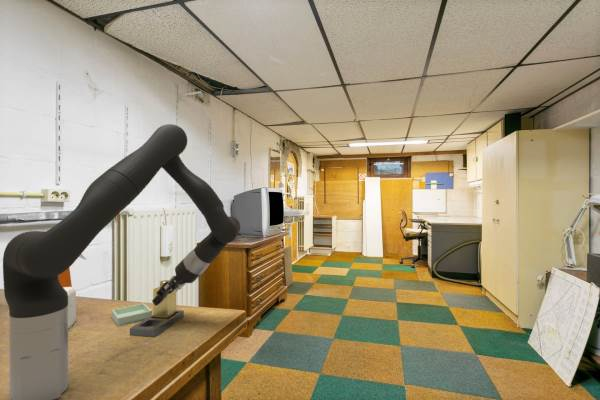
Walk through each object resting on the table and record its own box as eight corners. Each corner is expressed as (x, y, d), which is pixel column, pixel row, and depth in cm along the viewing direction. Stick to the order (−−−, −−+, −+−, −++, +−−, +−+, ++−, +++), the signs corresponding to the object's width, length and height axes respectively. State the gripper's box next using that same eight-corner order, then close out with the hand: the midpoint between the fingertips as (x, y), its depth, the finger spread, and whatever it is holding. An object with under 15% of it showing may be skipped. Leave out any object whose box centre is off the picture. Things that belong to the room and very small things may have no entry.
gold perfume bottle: (176, 318, 103) (176, 279, 103) (167, 324, 98) (167, 283, 98) (162, 317, 104) (162, 279, 104) (153, 323, 99) (153, 283, 99)
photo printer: (64, 333, 92) (64, 292, 92) (47, 335, 90) (47, 293, 90) (78, 320, 102) (77, 283, 102) (62, 322, 100) (62, 284, 100)
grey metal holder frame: (183, 316, 105) (183, 310, 105) (154, 337, 89) (154, 330, 89) (162, 315, 106) (162, 309, 106) (129, 335, 91) (129, 328, 91)
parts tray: (151, 318, 103) (151, 310, 103) (117, 326, 97) (117, 318, 97) (143, 310, 111) (143, 303, 111) (111, 317, 104) (111, 309, 104)
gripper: (196, 252, 107) (165, 286, 109) (173, 261, 93) (137, 299, 95) (211, 268, 106) (179, 301, 108) (190, 279, 92) (153, 317, 94)
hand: (159, 300), depth 101 cm, fingers closed on gold perfume bottle, 5 cm apart
